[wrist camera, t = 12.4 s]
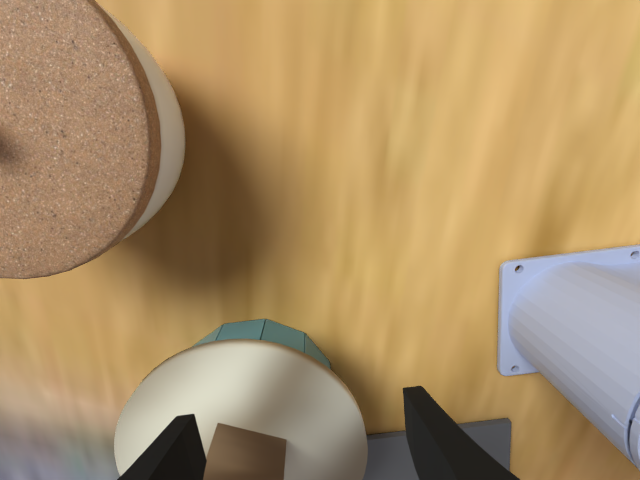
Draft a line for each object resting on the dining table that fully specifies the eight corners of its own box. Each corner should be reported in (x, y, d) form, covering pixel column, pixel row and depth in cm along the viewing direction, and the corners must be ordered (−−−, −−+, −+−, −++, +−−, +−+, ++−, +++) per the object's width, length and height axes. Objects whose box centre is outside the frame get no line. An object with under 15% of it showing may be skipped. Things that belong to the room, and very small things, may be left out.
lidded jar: (192, 250, 20) (98, 335, 11) (1, 200, 19) (-276, 249, 10) (232, 59, 18) (151, -34, 8) (13, -13, 16) (-350, -207, 7)
